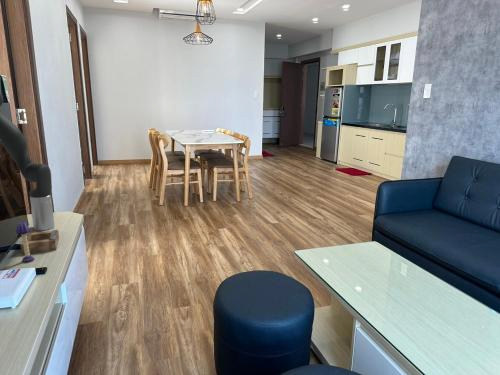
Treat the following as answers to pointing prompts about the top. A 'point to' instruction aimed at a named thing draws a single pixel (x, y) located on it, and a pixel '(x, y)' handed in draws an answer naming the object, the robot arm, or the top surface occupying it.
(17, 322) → the top surface
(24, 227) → the toy lamp
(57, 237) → the walnut jig
